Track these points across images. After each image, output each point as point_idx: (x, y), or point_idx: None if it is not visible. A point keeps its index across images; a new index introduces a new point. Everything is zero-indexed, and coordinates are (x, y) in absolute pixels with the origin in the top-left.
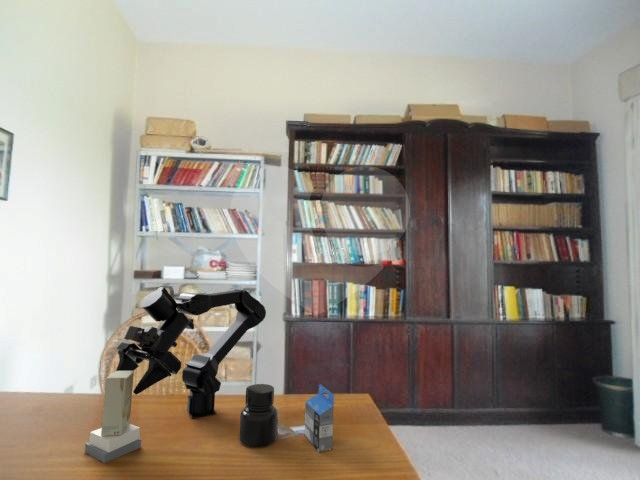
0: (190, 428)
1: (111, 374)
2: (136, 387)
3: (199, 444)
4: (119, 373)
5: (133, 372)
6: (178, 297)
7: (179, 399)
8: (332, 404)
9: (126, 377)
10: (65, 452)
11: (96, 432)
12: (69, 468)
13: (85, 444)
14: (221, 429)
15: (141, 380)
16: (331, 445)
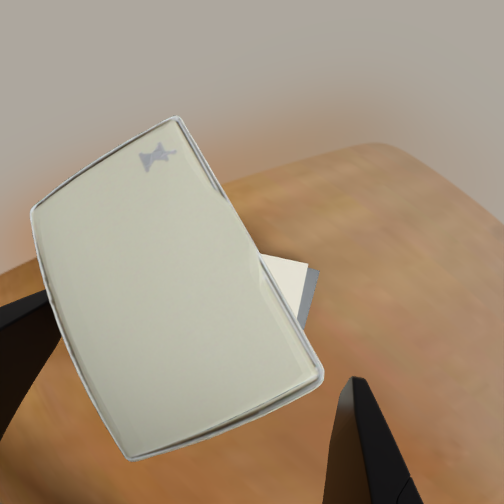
0: (119, 486)
1: (223, 223)
2: (43, 296)
3: (44, 400)
4: (164, 291)
5: (119, 437)
6: None
7: None
8: None
9: (35, 218)
10: (363, 252)
11: (283, 270)
12: (272, 194)
13: (317, 270)
14: (49, 481)
15: (1, 316)
16: None
